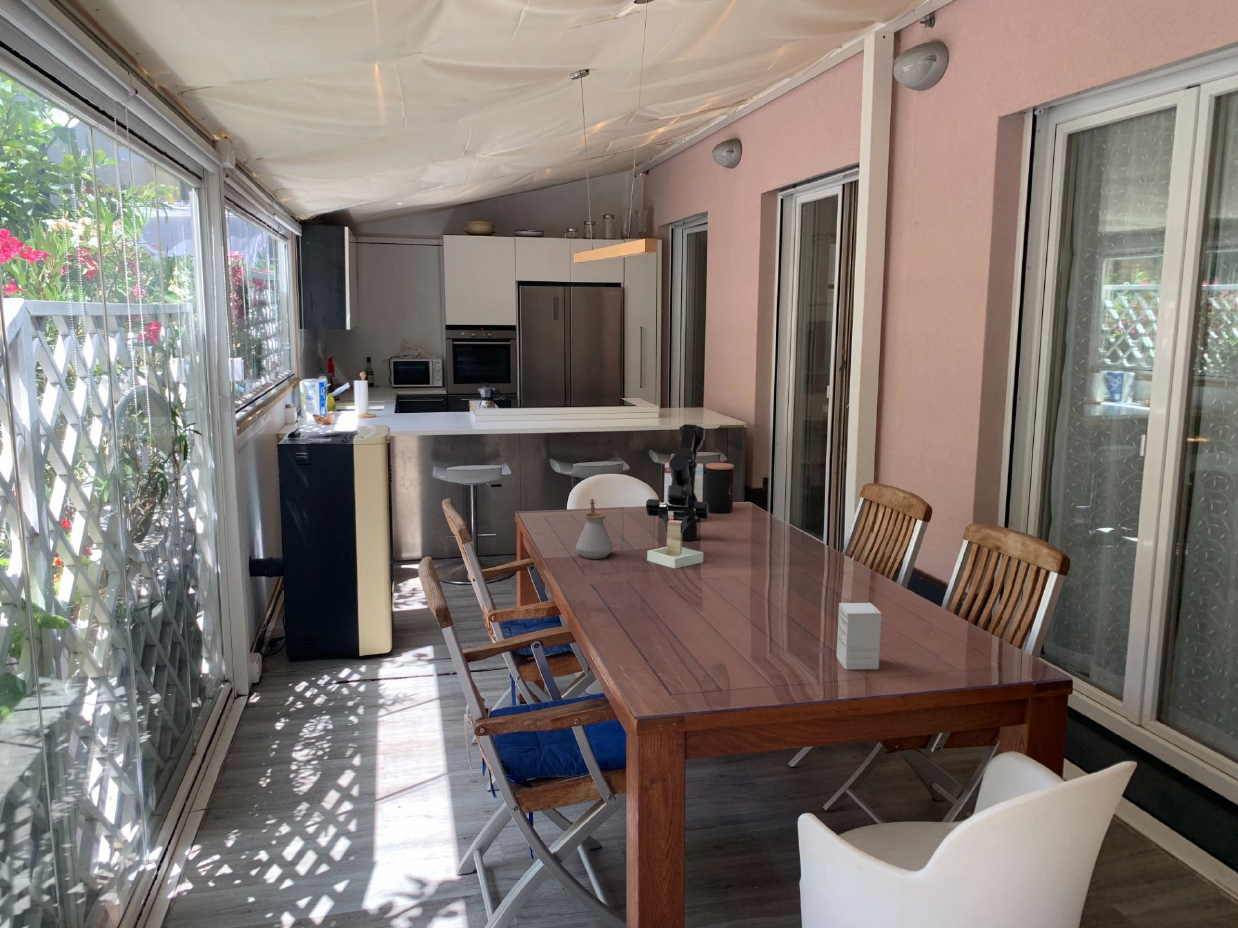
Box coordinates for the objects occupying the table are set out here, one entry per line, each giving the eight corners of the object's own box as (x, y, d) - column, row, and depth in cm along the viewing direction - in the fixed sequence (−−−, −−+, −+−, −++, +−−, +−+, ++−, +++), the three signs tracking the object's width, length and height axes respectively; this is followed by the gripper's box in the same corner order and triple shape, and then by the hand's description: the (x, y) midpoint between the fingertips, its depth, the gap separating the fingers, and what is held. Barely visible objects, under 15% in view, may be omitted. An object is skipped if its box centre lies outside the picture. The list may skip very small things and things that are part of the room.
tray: (647, 560, 286) (647, 550, 286) (675, 554, 294) (675, 544, 293) (674, 568, 277) (674, 558, 277) (703, 562, 285) (703, 552, 284)
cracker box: (702, 518, 346) (703, 462, 343) (702, 522, 341) (703, 465, 337) (664, 517, 348) (665, 461, 345) (663, 520, 342) (664, 464, 339)
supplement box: (868, 657, 206) (872, 602, 205) (879, 670, 199) (882, 612, 197) (835, 657, 206) (838, 601, 204) (844, 670, 199) (847, 612, 197)
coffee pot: (614, 560, 285) (614, 512, 283) (576, 560, 284) (576, 512, 282) (609, 543, 306) (609, 498, 304) (574, 543, 305) (574, 498, 303)
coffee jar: (733, 514, 355) (735, 467, 352) (705, 513, 355) (706, 466, 353) (731, 508, 366) (732, 463, 363) (703, 508, 366) (704, 462, 363)
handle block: (668, 552, 287) (669, 520, 286) (681, 552, 286) (682, 520, 285) (666, 555, 283) (667, 522, 282) (679, 556, 283) (680, 523, 281)
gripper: (647, 473, 287) (640, 515, 278) (708, 475, 283) (703, 519, 274) (651, 493, 296) (644, 535, 287) (710, 496, 292) (705, 539, 283)
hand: (674, 532), depth 282 cm, fingers closed on handle block, 4 cm apart
